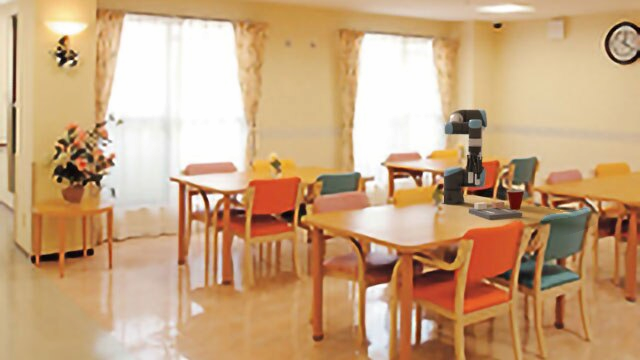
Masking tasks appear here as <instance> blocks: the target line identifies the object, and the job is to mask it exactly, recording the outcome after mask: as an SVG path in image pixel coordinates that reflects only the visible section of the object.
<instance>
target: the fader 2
mask: <svg viewBox="0 0 640 360" xmlns="http://www.w3.org/2000/svg"><path fill="white" fill-rule="evenodd" d="M491 207H492V208H505V201H503V200H496V201H491Z"/></svg>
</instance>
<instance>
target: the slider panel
mask: <svg viewBox="0 0 640 360" xmlns="http://www.w3.org/2000/svg"><path fill="white" fill-rule="evenodd" d="M468 214H471V215H474V216H477V217H480V218H483V219H486V220H500V219H501V220H502V219H503V220H504V219H514V217H516V218H522V217H523V212H522V211H519V210H512V209H510V208H508V207H504V208H492V206H491V207H490V206H489V207H488V206H487V209H481V210H477V209H474V207H473V208H468Z"/></svg>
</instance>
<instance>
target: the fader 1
mask: <svg viewBox="0 0 640 360" xmlns="http://www.w3.org/2000/svg"><path fill="white" fill-rule="evenodd" d="M473 206H474V207H473V208H474V209H477V210H481V209H487V207H488V202H484V201H481V202H474V205H473Z"/></svg>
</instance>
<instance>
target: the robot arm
mask: <svg viewBox="0 0 640 360" xmlns="http://www.w3.org/2000/svg"><path fill="white" fill-rule="evenodd" d="M447 120H448V121H447V122H445V123H444V134H445V135H451V136H452V135H464V136H465V135H467V136H468V140H467V141H468V146H467V147H468V148H467V150H468V154H467V155H466V166H465V168H463V167H462V166H452V167H448V168H445V169H444V171H443V191H442V194H443V195H444V203H443V204H444V205H463V204H465V197H464V194H463V188H477V189H478V188H483V187H485V182H486V177H487V169H485V166H484V165H483V132H484V131H485V129H486V128H487V127H488V121H487V120H488V117H487V112H486V110H485V109H479V108H478V109H459V110H455V111H454V112H452V113H450V114H449V116H448V119H447Z"/></svg>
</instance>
